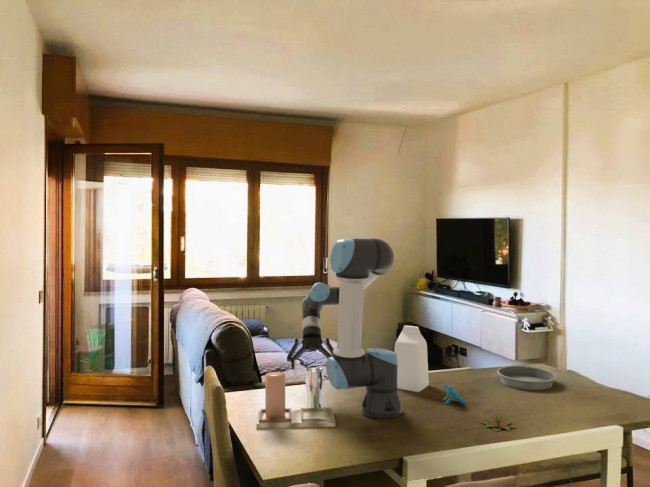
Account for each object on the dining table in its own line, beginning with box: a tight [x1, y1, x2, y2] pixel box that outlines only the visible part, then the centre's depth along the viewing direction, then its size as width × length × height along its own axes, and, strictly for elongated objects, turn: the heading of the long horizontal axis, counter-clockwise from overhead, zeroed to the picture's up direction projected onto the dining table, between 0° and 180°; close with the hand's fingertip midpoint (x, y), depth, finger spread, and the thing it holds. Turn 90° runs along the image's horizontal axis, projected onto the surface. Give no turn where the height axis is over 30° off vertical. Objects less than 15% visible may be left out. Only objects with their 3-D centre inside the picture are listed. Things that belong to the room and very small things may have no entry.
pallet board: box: [256, 407, 336, 429], centre depth 192 cm, size 27×13×3 cm, turn 94°
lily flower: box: [479, 413, 518, 432], centre depth 187 cm, size 12×12×5 cm
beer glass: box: [305, 366, 325, 408], centre depth 204 cm, size 7×7×15 cm
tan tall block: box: [264, 371, 286, 419], centre depth 191 cm, size 7×7×15 cm
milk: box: [393, 325, 430, 393], centre depth 233 cm, size 12×12×26 cm
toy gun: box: [443, 384, 466, 405], centre depth 211 cm, size 11×6×10 cm
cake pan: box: [496, 365, 558, 391], centre depth 239 cm, size 25×25×4 cm
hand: (313, 376), depth 208 cm, fingers open, 13 cm apart
